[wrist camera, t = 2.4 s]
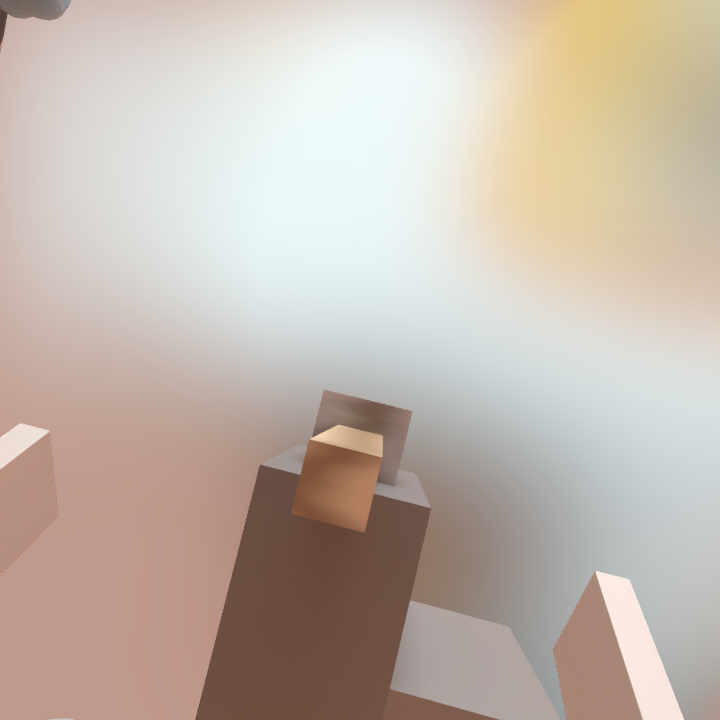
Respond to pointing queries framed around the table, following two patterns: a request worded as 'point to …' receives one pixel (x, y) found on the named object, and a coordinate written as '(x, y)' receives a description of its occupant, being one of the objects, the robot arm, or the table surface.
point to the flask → (62, 719)
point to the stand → (352, 622)
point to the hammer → (349, 459)
